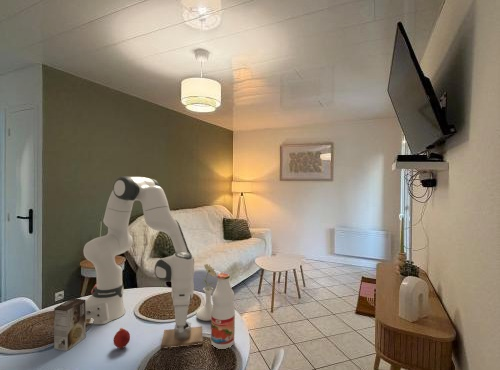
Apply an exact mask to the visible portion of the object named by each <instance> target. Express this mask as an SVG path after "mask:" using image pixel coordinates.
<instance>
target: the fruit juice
mask: <svg viewBox="0 0 500 370" xmlns="http://www.w3.org/2000/svg"><path fill="white" fill-rule="evenodd" d="M216 277H217V283H216V286H215V289H213V291H212V293H211V300H212V301H211V302H212V305H213V306H212V311H211V320H210V321H211V323H210V326H211V329H210V343H211V344H210V345H211V346H212V345H213V346H214V347H216V348H218V349H226V348H228V347H230V346H232V345H233V346H234V344H235V328H236V327H235V325H236V322H235V318H236V314H235V312H236V310H235V309H236V308H235V305H234V301H235V293H234V290H233V289H232V286H231V283H230V278H231V277H230V273H227V272H219V273H218V274H217V275H216ZM213 346H212V347H213ZM233 346H232V347H233ZM214 347H213V348H214ZM218 349H217V350H218ZM226 350H227V349H226Z"/></svg>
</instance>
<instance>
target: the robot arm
mask: <svg viewBox="0 0 500 370" xmlns="http://www.w3.org/2000/svg"><path fill="white" fill-rule="evenodd" d="M112 187H113V188H112V191H111V193H110V195H109V198H108V201H107V204H106V208H105V212H104V216H103V221H102V222H103V224H104V225H105V226H106V227H107V234H105V235H102V236H98V237H95V238H93V239H91V240H89V241H88V242H86V243H85V244H84V247H83V256H84V258H85V259H86V261H88V262H91V264H92V265H93V267H94V268H95V273H96V276H95V277H96V284H94V286H93V287H92V289H91V290H90V293H91V295H90V296H89V297H88V298H87V299H84V300H85V313H86V319H90V318H93V319H94V321H93V323H94V324H93V325H106V324H108V323H110V322H111V321H114V320H117V319H120V318H121V317H122V316H124V315H125V313H126V311H127V310H126V307H125V303H124V298H123V297H124V296H123V295H124V283H123V268H122V266H121V265H119V264H117V262H116V256H119V255H121V254H125V253H126V252H127V251H128V250H130V249H131V247H132V246H133V244H134V240H133V237H132V235H131V234H130V232H129V224H130V223H129V222H130V219H131V215H132V212H133V211H132V210H133V205H134V203H135V201H139V202H140V203H141V206H142V207H141V208H142V212H143V217H144V221H145V223H146V225H147V226H148V227H149V228H150V229H152V230H155V231H158V232H162V233H165V234H166V235H168V236H169V237H170V239H171V243H172V245H173V246H172V247H173V248H174V250H175V251H174V253H173V255H169V256H166V257H163V258H160V259H158V260H157V261H156V263H155V265H154V275H155V277H156V279H158V280H159V281H160V282H164V283H165V282H168V283H169V282H171V299H172V306H173V307H174V308H173V309H174V321H175V325H176V326H179V332H183V330H184V326H185V325H186V322H187V318H188V312H189V305H190V304H191V302H192V299H193V297H194V290H195V289H194V286H195V285H194V276H195V259H194V257H193V254H192V253H191V251H190V250H189V249H190V248H189V246H188V243H187V242H186V239H185V236H184V232H183V230H182V228H181V225H180V223H179V222H178V220H177V219H175V218H174V216H173V215H172V211H171V209H170V206H169V201H168V199H167V195H166V193H165V191H164V189H163V188H162V187H161V186H160V183H159V182H158V181H157V180H156V179H154V178H151V177H146V176H145V177H144V176H127V175H125V176H120V177H118V178H116V180H115V181H114V183H113V186H112Z"/></svg>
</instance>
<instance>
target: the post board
mask: <svg viewBox="0 0 500 370" xmlns="http://www.w3.org/2000/svg"><path fill="white" fill-rule="evenodd" d="M185 328H186V325H185V326H184V329H185ZM203 337H204V336H203V326H193V327H192V326H191V336H190V337H189V338H187V339H186V340H177V339H175V338H174V328H172V329H171V328H170V329H164V330H163V334H162V339H161V344H160V349H161V348H164V347H171V346H178V345H192V344H198V343H203V341H204V340H203V339H204V338H203ZM203 344H204V343H203Z"/></svg>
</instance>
